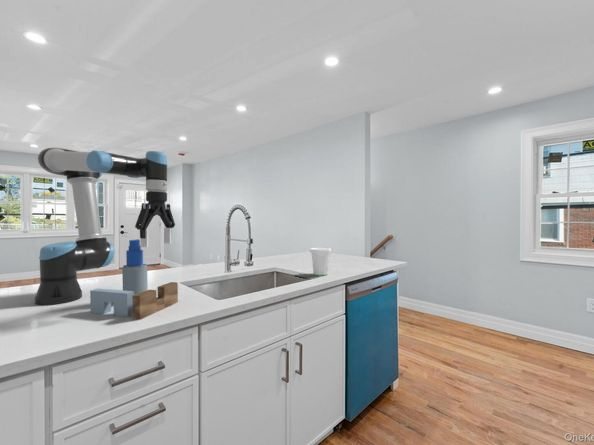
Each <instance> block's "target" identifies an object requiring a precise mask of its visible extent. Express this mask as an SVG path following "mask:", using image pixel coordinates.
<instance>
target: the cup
mask: <svg viewBox="0 0 594 445" xmlns="http://www.w3.org/2000/svg"><path fill="white" fill-rule="evenodd" d="M309 252H310V253H311V261H312V270H313V273H312V274H313V276H318V277H325V276H328V274H329V273H328V272H329V262H330V254H331V252H332V248H330V247H311V248H309Z"/></svg>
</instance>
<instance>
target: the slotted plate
mask: <svg viewBox="0 0 594 445" xmlns="http://www.w3.org/2000/svg"><path fill="white" fill-rule="evenodd" d="M89 292H90V295H89V298H90V299H89V302H90V303H89V304H90V313H92V314H99V315H101V314H102V315H105V314H108V313H110V312H112V303H113V316H121V317H130V316H133V306H132V295H134V291H123V289H122V290H121V289H108V288H95V289H92V290H90V291H89Z"/></svg>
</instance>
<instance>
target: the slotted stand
mask: <svg viewBox="0 0 594 445" xmlns="http://www.w3.org/2000/svg"><path fill="white" fill-rule="evenodd" d="M178 284H179V283H178V282H177V281H176V282H175V281H173V282H172V281H170V282H168V283H167V282H166V283H165V284H162V285H159V286H157V288H156V289H148V290H147V291H144V292H141V293H138V294H135V295H132V306H133V314H132V319H133V320H143V319H145V318H147V317H149V316H152V315H153V314H155V313H157V312H160V311H162V310H164V309H166V308H168V307H170V306H173V305H175V304H177V303H178V302H179V299H178V298H179V297H178V296H179V291H178V290H179V289H178V288H179V285H178Z"/></svg>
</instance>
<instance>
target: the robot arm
mask: <svg viewBox="0 0 594 445" xmlns="http://www.w3.org/2000/svg"><path fill="white" fill-rule="evenodd" d="M167 157H168V156H167V154H166V153H165V152H162V151H158V150H157V151H156V150H150V151H147V152H146V153H145V157H143V158H137V157H134V156H133V157H132V156H126V155H122V154H116V153H110V152H107V151H103V150H92V151H77V150H72V149H67V148H62V147H48V148H45V149H42V150H41V151H40V152H39V154H38V156H37V161H38V164H39V166H40V167H41V168H42V169H43V171H46V172H48V173H50V174H53V175H57V176H65V177H66V182H67V183H68V184H70V185H71V188H72V195H73V204H74V210H75V218H76V223H77V224H76V225H77V230H78V238H77V239H76V240H75V241H64V242H61V241H60V242H55V243H50V244H47V245H44V246H42V247H41V248H40V250H39V257H38V259H39V274H40V275H39V276H40V279H39V280H40V282H39V286H38V287H37V291H36V294H35V296H34V304H36V305H41V306H44V305H45V306H47V305H57V304H58V305H59V304H65V303H69V302H73V301H77V300H79V299H81V298H82V297H83V290H82V289H81V288H82V287H81V286H80V284H79V281H78V279H77V278H78V277H77V274H78V273H77V272H80V271H86V270H87V271H88V270H93V269H94V270H95V269H100V268H104V267H107V266H109V265H110V264H111V263H112V262H113V260H114V257H115V247H114V245H113V243H111V242H109V241H107V240H108V239H107V237H106V236H105V235H103V233H102V226H101V219H100V218H101V217H100V212H99V205H98V196H97V189H96V184H97V183H98V182H99V179H100V178H101V177H102V174H108V175H109V174H111V175H118V176H119V175H120V176H126V177H129V178H135V179H138V178H145V191H146V192H145V201H146V202H147V203H146V202H143V203H141V208H140V212H139V214H138V217H137V220H136V222H135V225H134V228H135V229H137V230H138V231H139V238H140V246H141V248H149V229H147V228H148V227H149V225H150V224H151V222H152V220H153V218H154V217H155V216H159V217H160V220H161V221H162V223H163V225H164V226H165V227H164V228H163V230H164V232H163V233H164V234H163V241H164V242H163V243H164V244H172V229H174V228H175V226H176V223H175V220H174V217H173V214H172V210H171V204H169V203H168V204H167V203H166V202H168V193H167V191H168V164H169V163H168V158H167Z"/></svg>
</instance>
